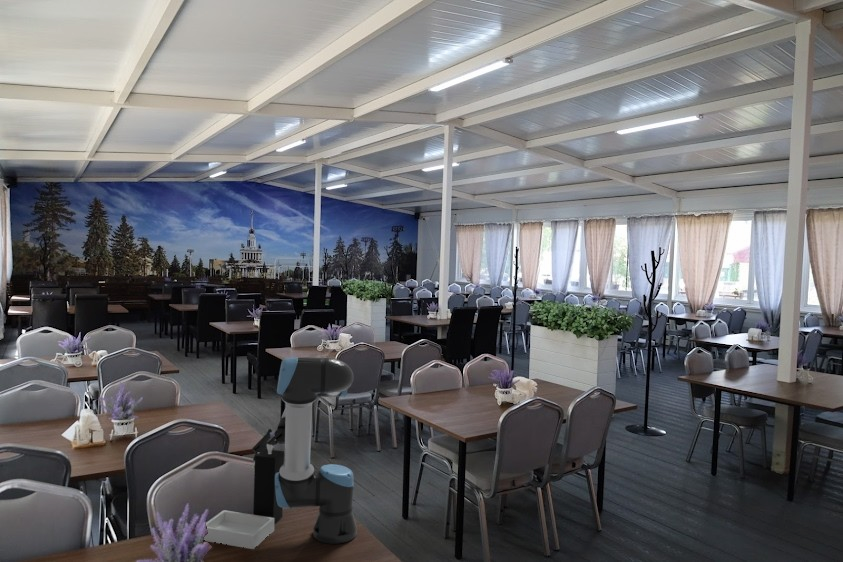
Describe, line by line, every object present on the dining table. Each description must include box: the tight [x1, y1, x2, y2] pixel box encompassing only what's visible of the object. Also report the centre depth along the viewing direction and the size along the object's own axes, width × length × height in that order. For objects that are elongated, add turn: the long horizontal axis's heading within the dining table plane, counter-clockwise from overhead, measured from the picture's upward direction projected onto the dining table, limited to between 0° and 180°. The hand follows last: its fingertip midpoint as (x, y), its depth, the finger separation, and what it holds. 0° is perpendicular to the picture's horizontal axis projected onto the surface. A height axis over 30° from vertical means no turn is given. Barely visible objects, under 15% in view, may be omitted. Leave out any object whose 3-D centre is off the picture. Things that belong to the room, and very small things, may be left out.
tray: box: [204, 509, 275, 550], centre depth 203 cm, size 20×14×4 cm
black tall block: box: [252, 444, 285, 526], centre depth 215 cm, size 8×8×28 cm
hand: (270, 472), depth 217 cm, fingers open, 13 cm apart
